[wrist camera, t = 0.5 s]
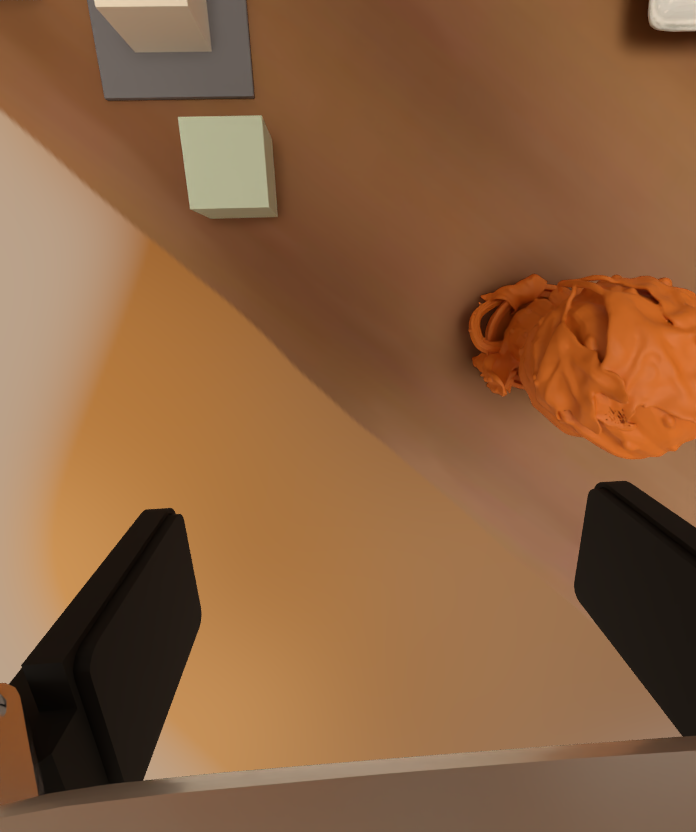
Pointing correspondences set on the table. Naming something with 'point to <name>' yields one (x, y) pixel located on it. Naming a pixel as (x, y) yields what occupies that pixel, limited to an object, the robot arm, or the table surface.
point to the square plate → (672, 15)
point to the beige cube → (159, 24)
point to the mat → (179, 61)
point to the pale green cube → (229, 166)
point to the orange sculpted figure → (597, 358)
